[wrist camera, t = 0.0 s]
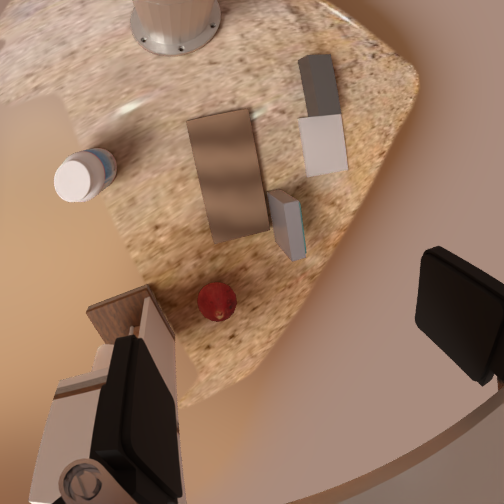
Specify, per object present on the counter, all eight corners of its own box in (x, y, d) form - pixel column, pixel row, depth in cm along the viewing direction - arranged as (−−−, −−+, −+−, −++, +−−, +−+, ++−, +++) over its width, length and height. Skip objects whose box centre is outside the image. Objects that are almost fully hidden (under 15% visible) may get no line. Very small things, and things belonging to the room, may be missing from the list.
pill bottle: (81, 145, 37) (51, 150, 27) (121, 150, 39) (100, 156, 28) (75, 187, 39) (45, 204, 29) (114, 192, 41) (93, 211, 30)
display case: (147, 283, 47) (126, 503, 15) (174, 334, 51) (191, 535, 19) (88, 306, 46) (28, 501, 14) (119, 353, 50) (99, 539, 18)
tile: (266, 191, 45) (283, 203, 38) (281, 188, 46) (300, 199, 38) (275, 241, 49) (291, 261, 41) (289, 237, 49) (307, 257, 42)
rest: (186, 121, 39) (186, 121, 38) (246, 109, 40) (248, 108, 39) (213, 241, 46) (214, 244, 45) (268, 227, 47) (270, 230, 46)
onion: (229, 270, 49) (238, 295, 41) (234, 301, 51) (244, 329, 44) (192, 277, 48) (195, 303, 41) (200, 308, 50) (204, 337, 43)
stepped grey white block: (286, 61, 39) (295, 55, 35) (329, 59, 40) (341, 54, 36) (306, 176, 46) (317, 180, 42) (346, 169, 47) (359, 173, 43)
